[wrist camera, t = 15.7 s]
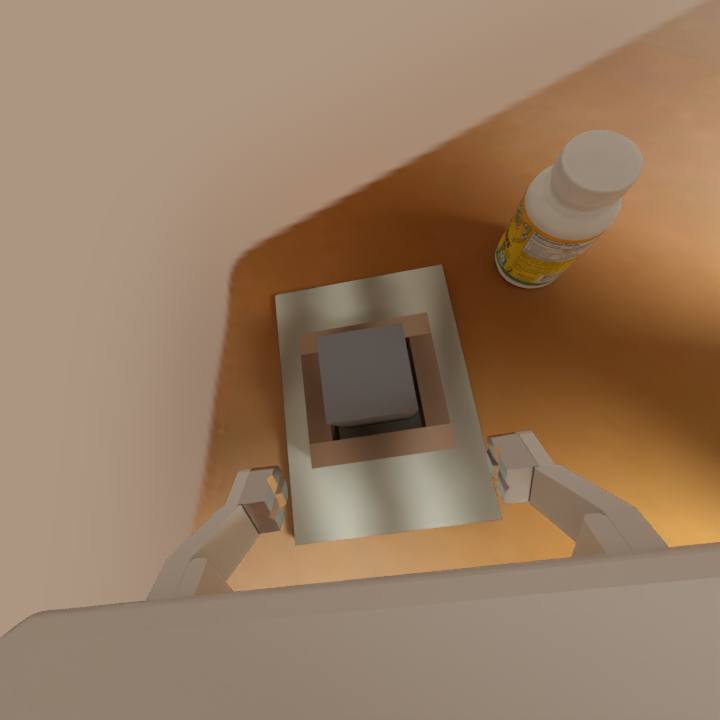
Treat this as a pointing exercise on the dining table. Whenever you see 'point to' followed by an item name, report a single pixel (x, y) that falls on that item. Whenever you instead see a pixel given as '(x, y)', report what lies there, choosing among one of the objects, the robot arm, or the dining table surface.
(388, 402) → the plug block
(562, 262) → the supplement bottle
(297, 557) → the dining table surface
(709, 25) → the dining table surface
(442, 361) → the socket holder
